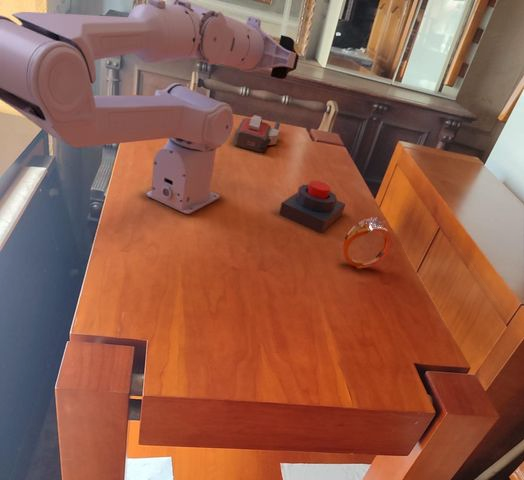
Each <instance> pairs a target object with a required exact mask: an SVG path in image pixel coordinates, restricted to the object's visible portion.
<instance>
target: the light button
mask: <svg viewBox="0 0 524 480" xmlns="http://www.w3.org/2000/svg"><path fill="white" fill-rule="evenodd" d="M308 185H309V187H308V191H307V193H308V194H309V195H311V196H313V197H315V198H319V199H327V198H328V195H329V192H330V191H331V186H330V185H329V184H327V183H326V182H322V181H319V180H311V181H309V184H308Z"/></svg>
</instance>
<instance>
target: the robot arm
mask: <svg viewBox="0 0 524 480" xmlns="http://www.w3.org/2000/svg"><path fill="white" fill-rule="evenodd" d="M11 16H12V17H14V18H15V19H17V20H18V21H19V22H20V23H21V24H18V23H17V22H15V21H13V20H12V19H10V18H9V17H7V16H4V15H1V14H0V101H2V102H3V103H4V104H6V105H8V106H10V107H11V108H13V109H14V110H15V111H16V112H18V113H19V114H21V115H22V116H24V117H25V118H26V119H27V120H29V121H30V122H32V123H33V124H34V125H36V126H37V127H38V128H40V129H41V130H42V131H44V132H45V133H47V134H48V135H49V136H51V137H53V138H54V139H56V140H58V141H60V142H63V143H64V144H65V145H68V146H70V147H72V148H87V147H95V146H96V147H97V146H104V145H105V146H106V145H115V144H125V143H136V142H143V141H145V142H147V141H155V140H165V139H167V141H166V144H165V145H164V146H163V147H162V148H161V149H159V150H158V151H157V152H156V154H155V155H154V158H153V167H152V179H151V190H149V191H147V192H146V197H148V198H150V199H153V200H155V201H157V202H159V203H161V204H163V205H166V206H168V207H170V208H172V209H174V210H176V211H178V212H181V213H183V214H185V215H191V214H192V213H194V212H196V211H198V210H200V209H202V208H203V207H205V206H207V205H209V204H211V203H213V202H215V201H217V200H219V199H220V195H219V194H218V193H215V192H213V191H211V186H212V180H213V174H214V173H213V172H214V167H215V160H216V153H217V149H219V148H221V147H222V146H223V145H224V144H225V143H226V142H227V141H228V140H229V137H230V136H231V133H232V131H233V127H234V112H233V109H232V107H231V105H230V104H229V103H228V102H224V101H218V100H216V99H214V98H212V97H210V96H207V95H205V94H203V93H200V92H197V91H195V90H193V89H191V88H188V87H185V85H183V84H181V83H180V82H174V83H171V84H169V85H167V87H166V88H164V89H156V90H155V93H154V95H94V92H93V87H92V84H94V83H96V80H97V71H96V63H95V61H97V60H103V59H108V58H115V57H121V56H125V55H131V54H134V55H135V56H136V57H137V58H138V59H139V60H141V61H142V62H144V63H148V64H152V63H162V62H163V63H164V62H172V61H181V60H186V59H190V58H192V59H195V60H198V61H200V62H203V63H206V65H207V66H212V65H214V64H218V65H219V64H220V65H224V66H227V67H232V68H236V69H239V70H241V71H243V72H246V73H247V72H248V73H250V72H251V73H252V72H258V71H263V70H267V69H271V72H270V78H271V77H272V78H275V79H279V80H285V79H286V78H287V76H288V74H289V73H290V72H293V71H295V70H297V66H298V63H299V57H300V56H299V54H298V53H297V51H296V49H295V40H294V39H293V38H292V37H290V36H287V35H284V34H283V35H282V34H281V35H280V38H279V43H278V42H277V41H276V40H275V39H274V38H272V37H271V36H270V35H269V34H267V32H265V31H264V30H262V28H261V25H262V21H261V19H260V18H259V17H255V16H248V17H247V19H246V23H245V22H242V21H239V20H237V19H235V18H232V17H230V16H227V15H224V14H223V12H221V11H215V10H213V9H209V8H208V7H204V6H202V5H198V4H196V3H193V2H190V1H188V0H170V2H169V3H168V4H167V3H166V0H148V2H147V3H141V4H136V5H135V6H134V7H133V8H132V9H131V10H130V12H129V14H128V16H112V15H92V14H76V13H75V14H74V13H59V12H58V13H57V12H55V13H54V12H37V11H36V12H35V11H34V12H32V11H19V12H15V13H12V14H11Z"/></svg>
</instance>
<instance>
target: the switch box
mask: <svg viewBox="0 0 524 480" xmlns="http://www.w3.org/2000/svg"><path fill="white" fill-rule="evenodd" d="M308 187H309V184H302V185H300V186H299V187H298V188H297V189H298V190H297V192H295V194H293V195H290V197H288V198H286V199H285V200H284V201H282V202H281V204H280V209H279V212H278V215H279V216H281V217H284V218H286V219H288V220H290V221H292V222H294V223H297V224H300V225H302V226H304V227H306V228H309V229H311V230H313V231H316V232H318V233H320V234H323V232H324V231H326V230H327V229H328V228H329V227H330V226H331V225H333V223H335V222H336V221H337V220H338V219H339V218H340V217H341V216H343V213H344V210H345V207H346V203H345V202H343V201H340V200H338V197H337V195H336V194H335V193H334V192H332V190H330V192H329V195H328V198H327V199H319V198H315V197H313V196H311V195H309V194H308V193H307V191H308Z"/></svg>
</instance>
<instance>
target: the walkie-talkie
mask: <svg viewBox="0 0 524 480" xmlns="http://www.w3.org/2000/svg"><path fill="white" fill-rule="evenodd" d="M263 119H264V117H263V116H260V115H256V114H252V117H251V118H249V117H246V118H243V119H241V122H240V123H239V125H238V128H237V130H236V131H235V136H234V141H233V144H234V145H235V146H236V147H238V148H242V149H246V150H248V151H249V150H250V151H252V152H255V153H256V152H257V153H263V152H264V151H266V149H267V147H268V146H272V145H273V146H274V145H276V144H277V142H278V140H279V137H280V133H281V130H280V129H279V128H280V122H278V121H276V122H275V123H274V127H273V128H272V125H270V124H269V123H267V122H265V121H263Z"/></svg>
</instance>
